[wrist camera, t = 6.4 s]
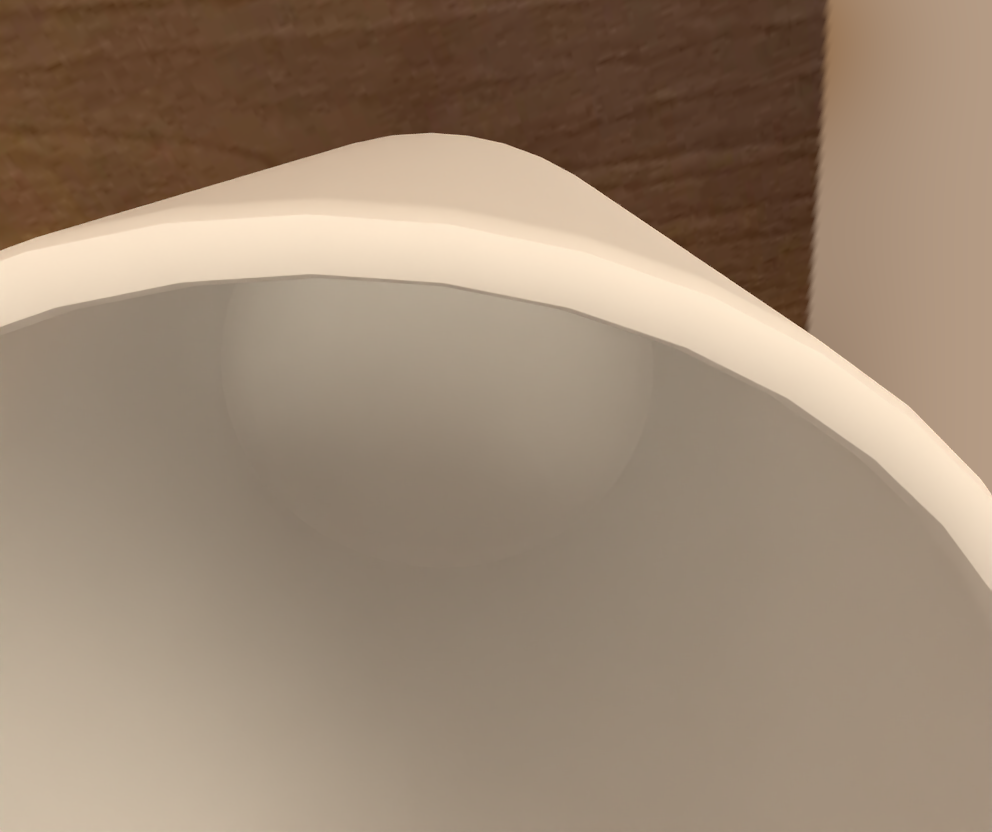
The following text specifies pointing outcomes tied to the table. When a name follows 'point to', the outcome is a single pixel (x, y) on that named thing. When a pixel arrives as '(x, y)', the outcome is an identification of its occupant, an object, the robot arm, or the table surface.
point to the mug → (464, 526)
